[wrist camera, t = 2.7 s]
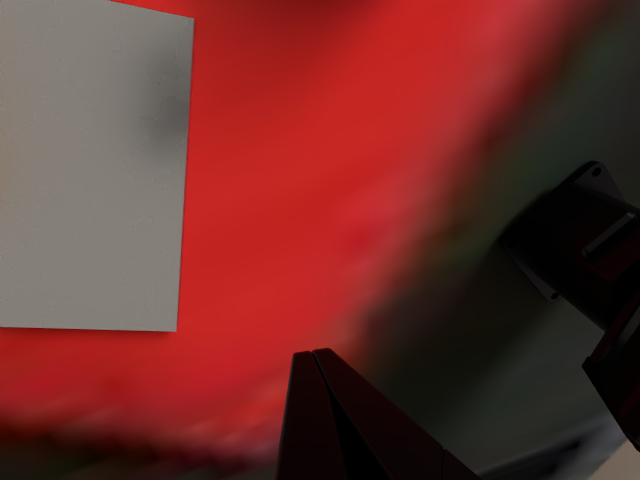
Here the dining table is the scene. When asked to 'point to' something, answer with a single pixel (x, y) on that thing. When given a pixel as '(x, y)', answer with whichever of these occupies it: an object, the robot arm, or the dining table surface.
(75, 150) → the baseplate
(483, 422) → the dining table surface
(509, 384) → the dining table surface
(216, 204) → the dining table surface
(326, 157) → the dining table surface
